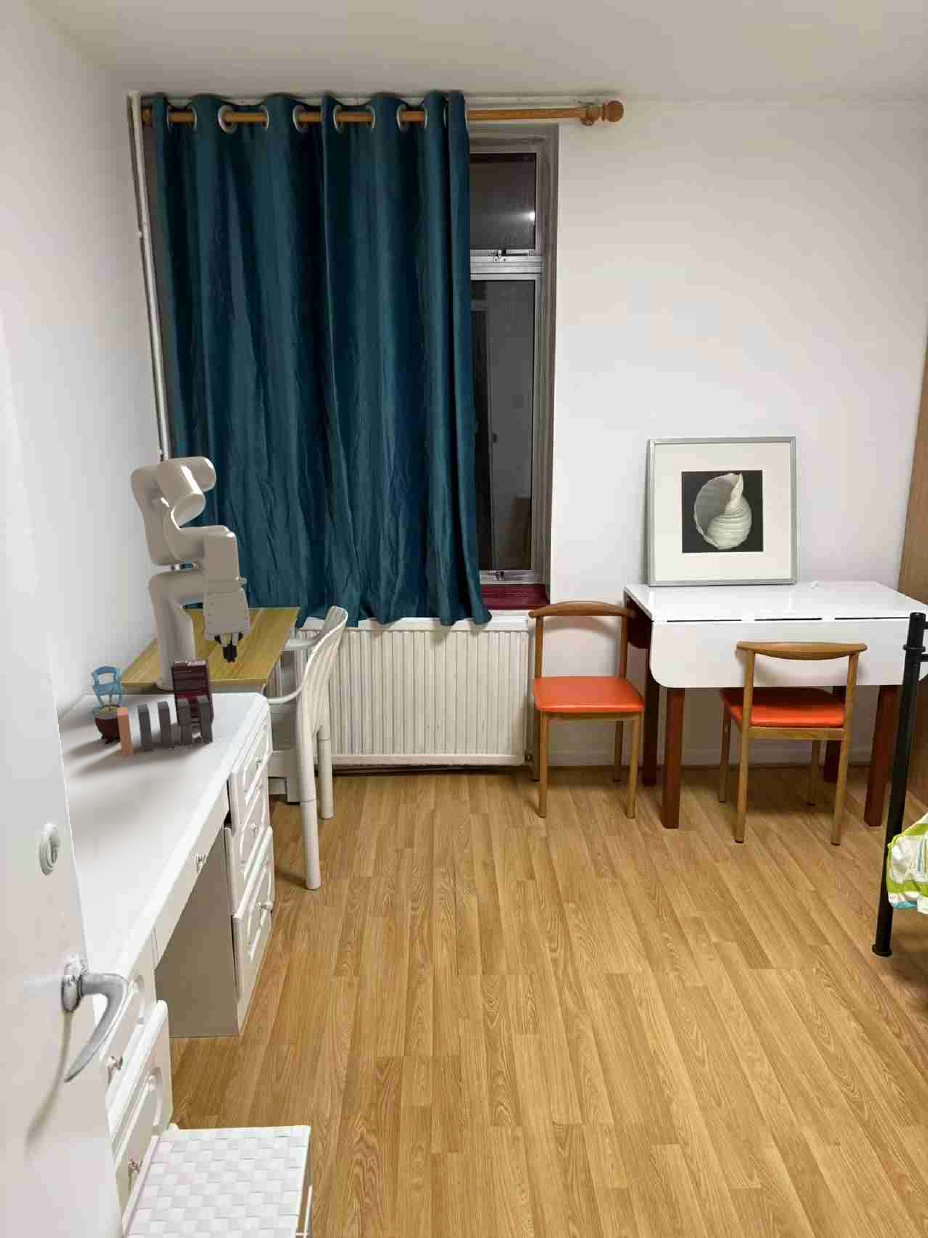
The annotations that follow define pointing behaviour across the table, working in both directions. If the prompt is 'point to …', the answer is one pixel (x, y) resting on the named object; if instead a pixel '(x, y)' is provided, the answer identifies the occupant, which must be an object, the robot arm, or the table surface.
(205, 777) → the table surface
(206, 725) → the domino
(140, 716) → the domino
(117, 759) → the table surface
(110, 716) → the mate gourd
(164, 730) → the domino
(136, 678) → the table surface
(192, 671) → the supplement box
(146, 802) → the table surface
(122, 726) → the rust domino
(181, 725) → the domino
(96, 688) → the chair
